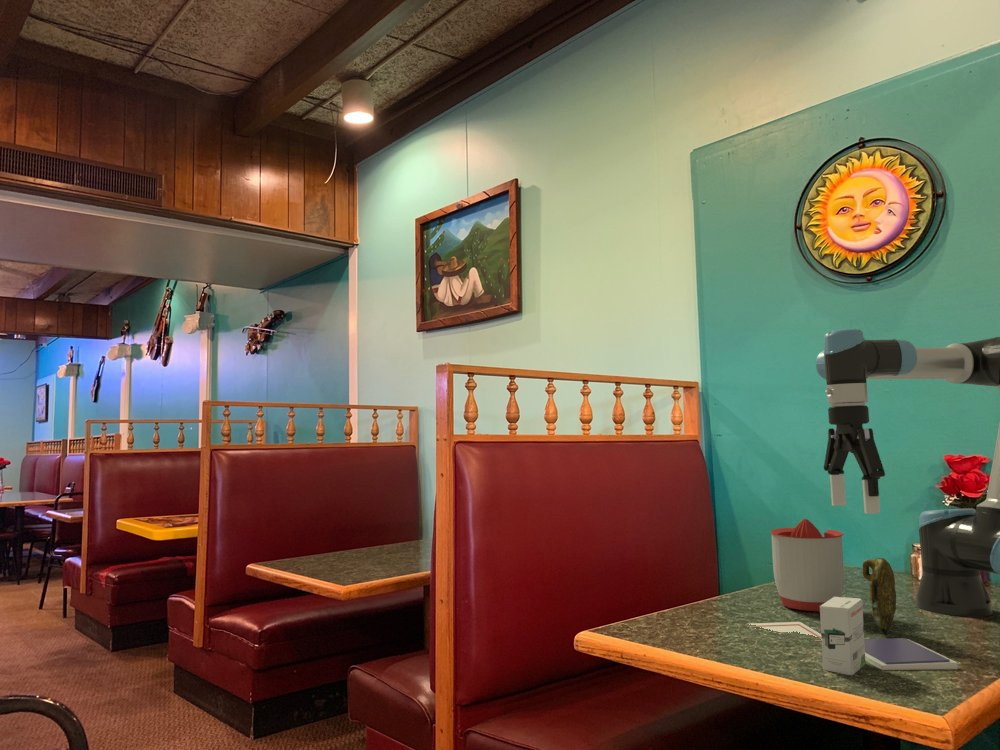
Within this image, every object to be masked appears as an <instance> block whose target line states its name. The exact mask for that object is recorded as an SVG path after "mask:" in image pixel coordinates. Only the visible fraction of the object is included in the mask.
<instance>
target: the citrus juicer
mask: <svg viewBox="0 0 1000 750" xmlns="http://www.w3.org/2000/svg"><path fill="white" fill-rule="evenodd" d="M769 533H770V534H771V551H772V552H771V553H772V568H773V569H772V570H773V577H774V582H775V586H776V588H777V589H776V590H777V591H778V592H777V593H778V597H779V598H780V600H781V603H782V605H783V606H785V607H786V608H787V609H793V610H794V609H795V610H799V611H808V612H810V611H811V612H816V613H820V606H821V605H822V604H824V603H825V602H827V601H829V600H830V599H832V598H833V597H842V592H843V590H844V589H843V588H844V580H845V573H844V552H843V536H844V533H843V532H842V531H838V530H835V529H827V530H825V532H823V535H822V532H821V531H819V529H818V528H817V527H816V526H815V524H814V523H812V521H810V520H809V519H807V518H803V519H801V521H800V522H799V523H798V524H797V525H796V526H795V527H782V528H774V529H771V530H770V532H769Z"/></svg>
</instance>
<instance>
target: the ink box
mask: <svg viewBox="0 0 1000 750" xmlns="http://www.w3.org/2000/svg"><path fill="white" fill-rule="evenodd" d="M819 615H820V619H819V621H820V634H821V640H822V642H821V655H822V656H821V657H822V658H821V659H822V661H821V662H822V670H823V671H828V672H834V673H837V674H842V675H848V676H853V675H855V674H856V673H857V672H858V671H859V670H861V669H862V668H863V667H864V666H865V665H866V661H865V644H864V640H865V631H864V630H865V629H864V608H863V600H862V598H857V597H842V596H841V597H833V598H832V599H830V600H829V601H827V602H825V603H824V604H822V605H821V606H820V612H819Z"/></svg>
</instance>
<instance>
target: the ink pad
mask: <svg viewBox="0 0 1000 750" xmlns="http://www.w3.org/2000/svg"><path fill="white" fill-rule="evenodd" d="M864 644H865V662H867V663H869V664H871V665H872V666H874V667H876V668H878V669H879V670H882V671H883V670H884V671H886V670H887V671H891V670H893V671H894V670H895V671H896V670H899V671H900V670H902V671H904V670H908V671H909V670H911V671H912V670H958V669H959V668H958V667H959V666H958V661H956V660H953V659H951V658H948V656H947V657H946V656H945V655H943V654H940V653H938V652H937V651H934V650H933V649H930V648H929V647H926V646H924V645H922V644H920V643H918V642H916V641H913V640H912V639H909V638H905V637H898V638H873V639H871V638H870V639H867V638H866V639H864Z"/></svg>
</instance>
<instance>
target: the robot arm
mask: <svg viewBox="0 0 1000 750" xmlns="http://www.w3.org/2000/svg"><path fill="white" fill-rule="evenodd" d="M815 369H816V371H817V373H818V375H819V376H820V378H822V379H824V380H825V381H826V389H825V394H826V396H827V404H829V405H831V406H829V407H828V408H827V413H828V423H829V424H830V425H832V426H833V425H835V426H836V428H828V431H827V434H828V437H827V438H828V439H827V445H826V450H825V451H826V452H825V457H824V464H823V471H825V472H827V474H828V475H829V481H830V482H829V483H830V496H831V498H830V499H831V506H833V507H838V506H839V507H840V506H841V507H842V506H847V500H846V499H847V497H846V487H845V486H846V483H845V471H844V467H845V464H846V461H847V459H848V455H849V453H852V454H853V456H854V458H855V461H856V462H857V464H858V466H859V469H860V471H861V473H862V477H861V479H860V480H861V481H862V494H863V508H864V509H863V511H864V514H867V515H868V514H881V505H880V503H881V502H880V491H879V490H880V488H879V480H880V479H881V478H883V477H885V476H886V473H885V472H886V471H885V469H884V466H883V463H882V459H881V456H880V454H879V451H878V448H877V444H876V442H875V437H874V430H873V428H864V426H863V425H864V424H865V425H866V424H869V423H870V414H869V413H870V412H869V411H870V410H869V407H868V405H866V403H868V402H869V398H868V396H869V395H868V394H869V393H868V383H867V380H946V381H947V382H948V383H951V384H956V385H957V384H961V385H962V384H963V385H964V384H966V385H975V386H985V387H997V390H998V391H999V392H1000V336H995V337H991V338H986V339H981V340H975V341H970V342H955V343H951V344H949V345H947V346H945V347H941V346H939V347H934V346H932V347H931V346H930V347H929V346H925V347H924V346H923V347H922V346H915V345H914V344H913V343H912V342H910V341H909V340H905V339H897V338H893V339H865V337H864V333H863V331H862V330H861V329H856V328H850V329H849V328H848V329H837V330H832V331H828V332H827V333H825V334H824V337H823V350H822V351H820V352H819V353H818V354H817V356H816V359H815ZM918 534H919V546H920V548H919V549H920V557H921V558H920V559H921V572H922V574H921V577H920V581H919V584H918V586H917V587H918V588H917V590H916V594H915V607H917V609H919V610H922V611H926V612H930V613H933V614H940V615H946V616H953V615H955V616H954V617H956V616H957V617H965V616H966V617H967V618H968V617H970V618H974V617H975V618H976V617H977V618H980V617H981V618H982V617H989V616H992V614H993V603H992V601H991V598H990V596H989V594H988V591H987V588H986V586H985V584H984V582H983V580H982V576H981V574H982V573H981V571H982V572H986V573H992V574H996V575H1000V422H999V424H998V430H997V436H996V442H995V446H994V452H993V458H992V465H991V470H990V475H989V481H988V487H987V493H986V498H985V500H984V501H982V502H980V503H979V504H977V505H976V509H975V508H951V509H949V508H948V509H932V510H931V509H930V510H929V509H928V510H924V511H922V512H921V513H920V515H919V526H918ZM966 617H965V618H966Z"/></svg>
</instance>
